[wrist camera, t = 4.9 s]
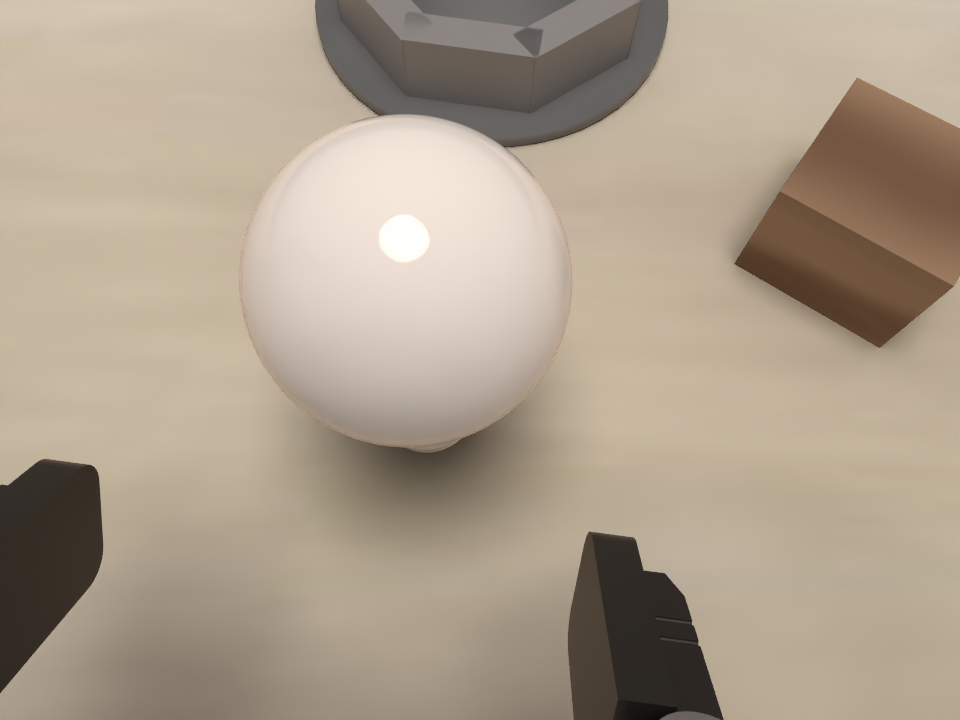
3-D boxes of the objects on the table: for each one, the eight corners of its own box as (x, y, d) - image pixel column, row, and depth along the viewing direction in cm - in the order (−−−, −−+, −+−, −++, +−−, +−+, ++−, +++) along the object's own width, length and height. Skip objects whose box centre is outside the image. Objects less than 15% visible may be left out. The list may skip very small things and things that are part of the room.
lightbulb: (419, 279, 24) (383, -19, 14) (581, 402, 22) (674, 168, 12) (273, 427, 22) (104, 205, 12) (439, 573, 20) (409, 462, 10)
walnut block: (877, 349, 23) (953, 286, 20) (733, 266, 24) (780, 191, 21) (940, 237, 25) (1021, 159, 21) (802, 163, 26) (856, 77, 22)
